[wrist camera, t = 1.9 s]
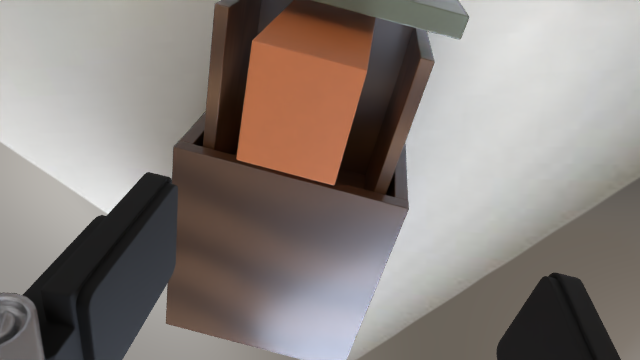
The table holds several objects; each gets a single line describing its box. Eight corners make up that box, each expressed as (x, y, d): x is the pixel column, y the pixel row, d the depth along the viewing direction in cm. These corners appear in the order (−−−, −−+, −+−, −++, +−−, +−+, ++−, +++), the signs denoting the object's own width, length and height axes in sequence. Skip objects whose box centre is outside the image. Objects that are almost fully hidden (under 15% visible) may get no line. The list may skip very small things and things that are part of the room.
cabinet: (228, 85, 36) (173, 146, 27) (405, 132, 36) (409, 209, 27) (211, 239, 45) (165, 323, 36) (352, 276, 45) (342, 370, 36)
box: (288, 74, 33) (235, 160, 22) (304, -11, 30) (251, 39, 19) (354, 91, 33) (334, 186, 22) (377, 8, 30) (367, 70, 19)
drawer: (259, -146, 27) (208, -164, 20) (477, -88, 27) (509, -85, 20) (226, 139, 38) (185, 197, 30) (382, 180, 38) (379, 249, 30)
